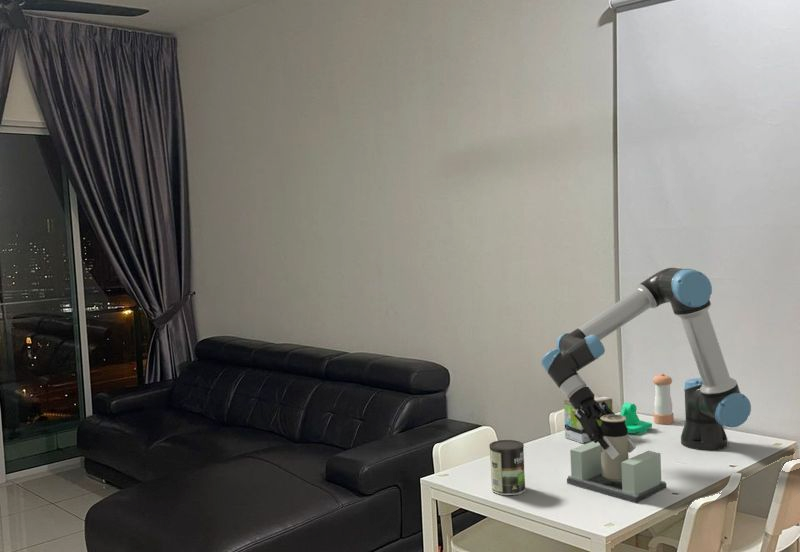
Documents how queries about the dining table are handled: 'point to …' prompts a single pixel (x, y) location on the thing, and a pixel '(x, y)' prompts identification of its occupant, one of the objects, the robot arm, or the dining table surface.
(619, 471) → the travel mug
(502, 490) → the coffee can
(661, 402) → the pepper shaker
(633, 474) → the grey block holder
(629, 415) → the camera mount
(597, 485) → the rail plate
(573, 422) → the tea box
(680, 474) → the dining table surface
